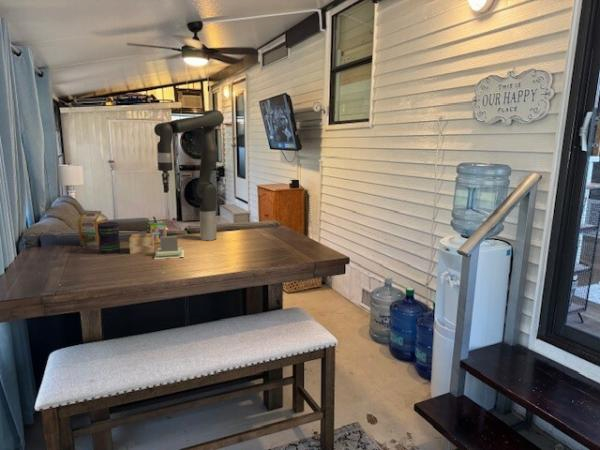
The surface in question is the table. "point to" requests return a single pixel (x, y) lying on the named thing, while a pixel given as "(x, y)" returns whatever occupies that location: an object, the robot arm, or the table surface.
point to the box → (141, 243)
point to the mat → (169, 256)
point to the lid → (169, 247)
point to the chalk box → (157, 229)
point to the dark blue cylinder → (108, 238)
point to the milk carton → (90, 227)
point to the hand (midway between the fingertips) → (166, 191)
